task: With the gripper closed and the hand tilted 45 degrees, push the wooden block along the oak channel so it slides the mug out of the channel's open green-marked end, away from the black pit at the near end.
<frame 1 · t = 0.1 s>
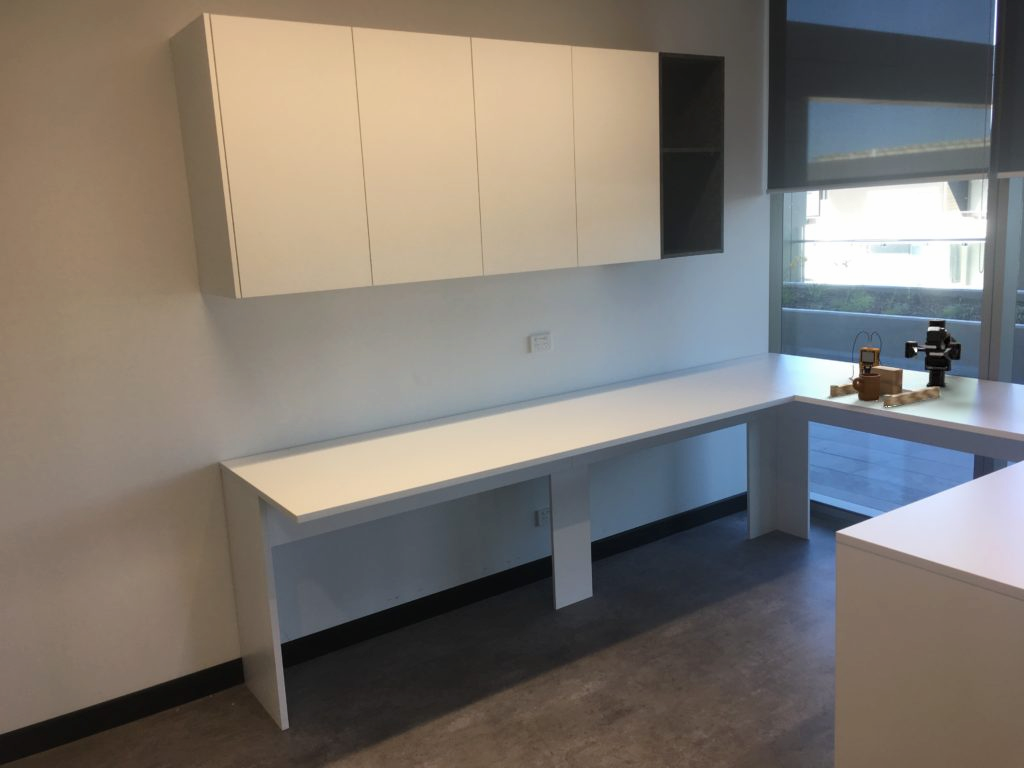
hand: (929, 354, 302), 17 cm above the table, tool horizontal, fingers open, 9 cm apart
wooden block: (886, 381, 312), point 6 cm above the table, slide at 0.0 cm
multimeter: (864, 381, 342), on the table
mug: (864, 400, 308), on the table
channel: (884, 396, 313), on the table
pit: (902, 392, 317), on the table
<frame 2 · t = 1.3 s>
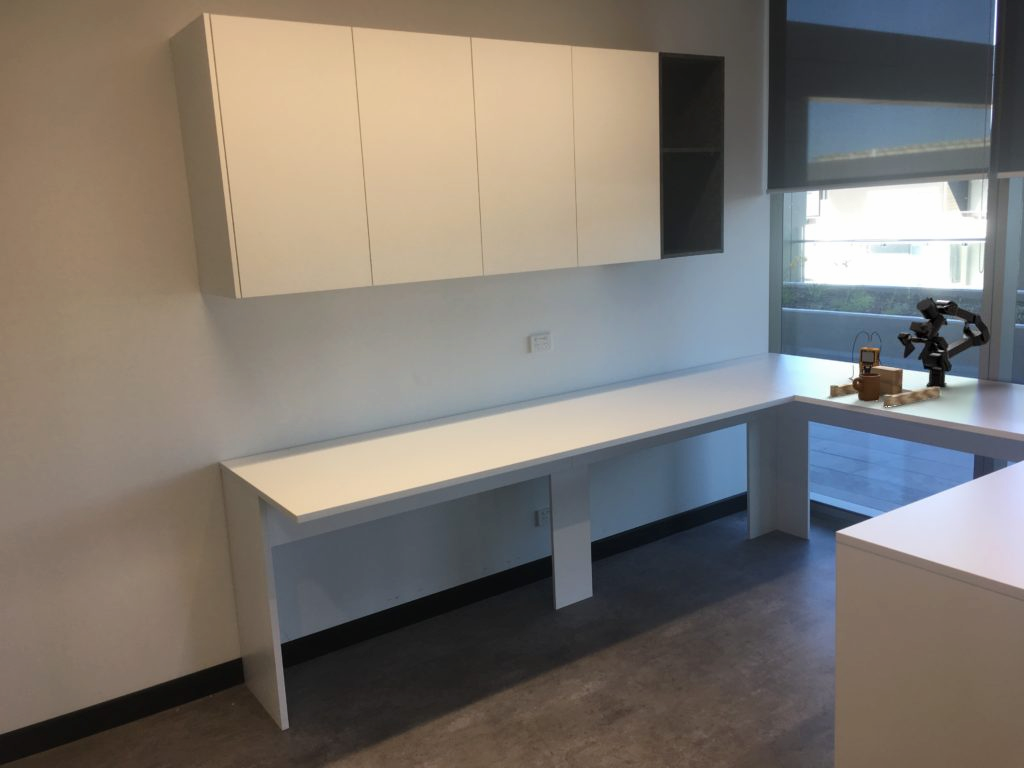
hand: (911, 358, 317), 13 cm above the table, tool tilted 45°, fingers open, 6 cm apart
nothing on the table moved.
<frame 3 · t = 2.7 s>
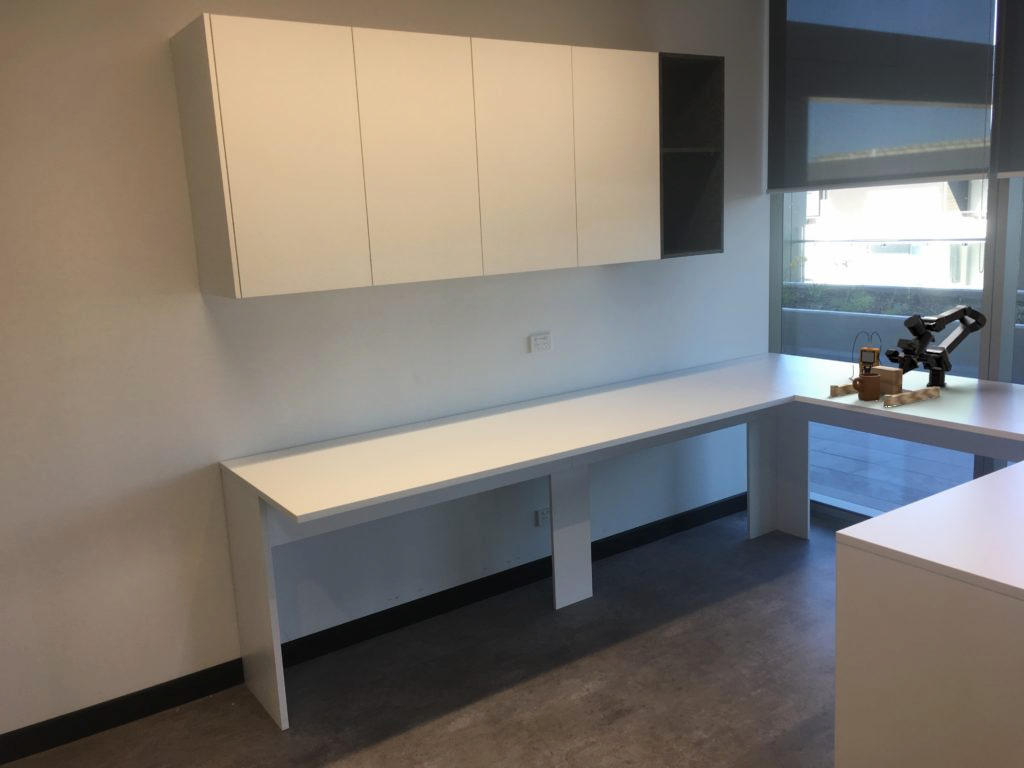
hand: (898, 375, 315), 7 cm above the table, tool tilted 45°, fingers closed
nothing on the table moved.
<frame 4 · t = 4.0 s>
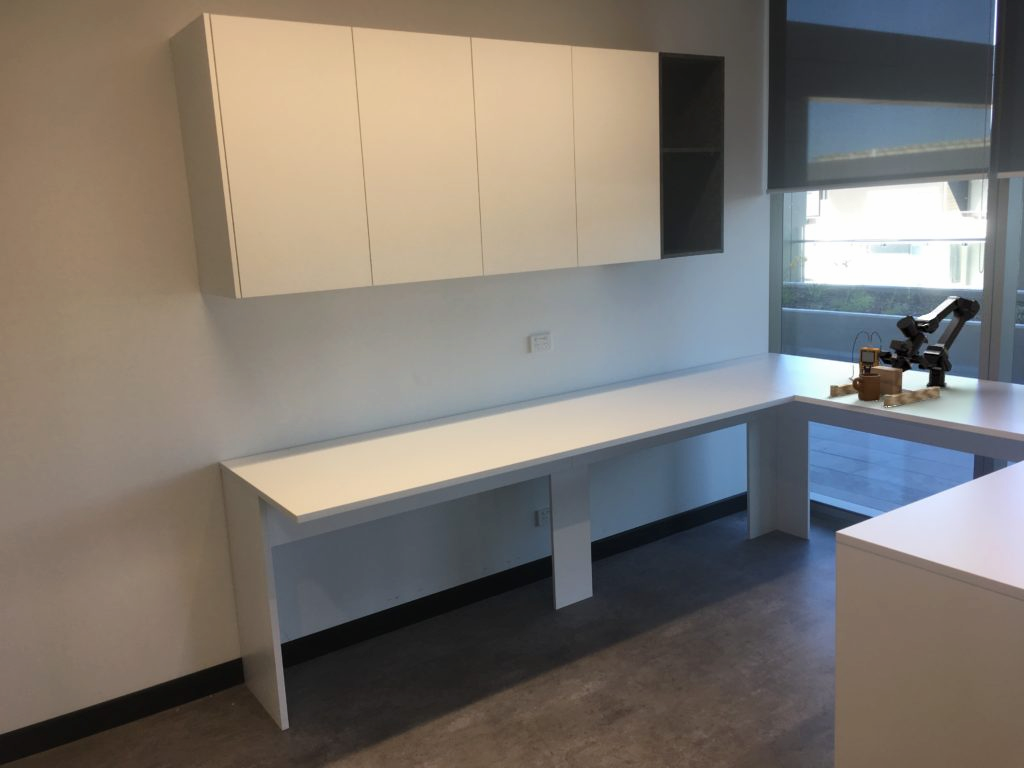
hand: (891, 377, 313), 7 cm above the table, tool tilted 45°, fingers closed, pressing on wooden block
wooden block: (886, 381, 312), point 6 cm above the table, slide at 0.1 cm, touching gripper
everything else where it was.
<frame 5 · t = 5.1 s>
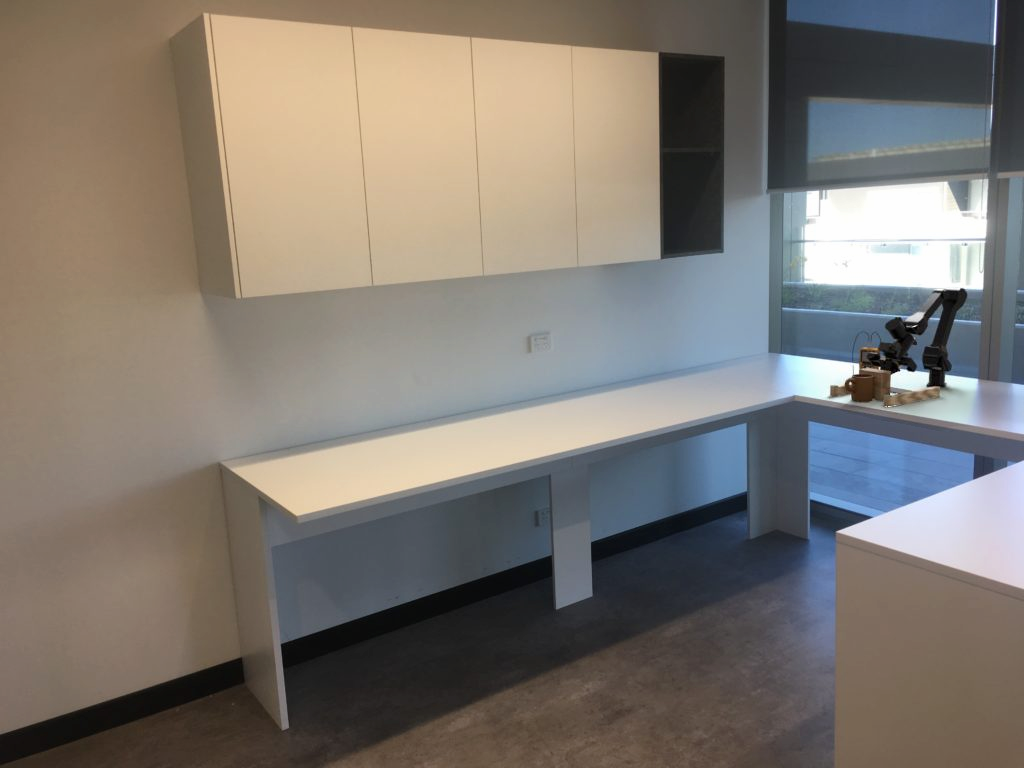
hand: (879, 379, 310), 7 cm above the table, tool tilted 45°, fingers closed, pressing on wooden block
wooden block: (874, 383, 309), point 6 cm above the table, slide at 6.5 cm, touching gripper
mug: (857, 401, 307), on the table
everything else where it was.
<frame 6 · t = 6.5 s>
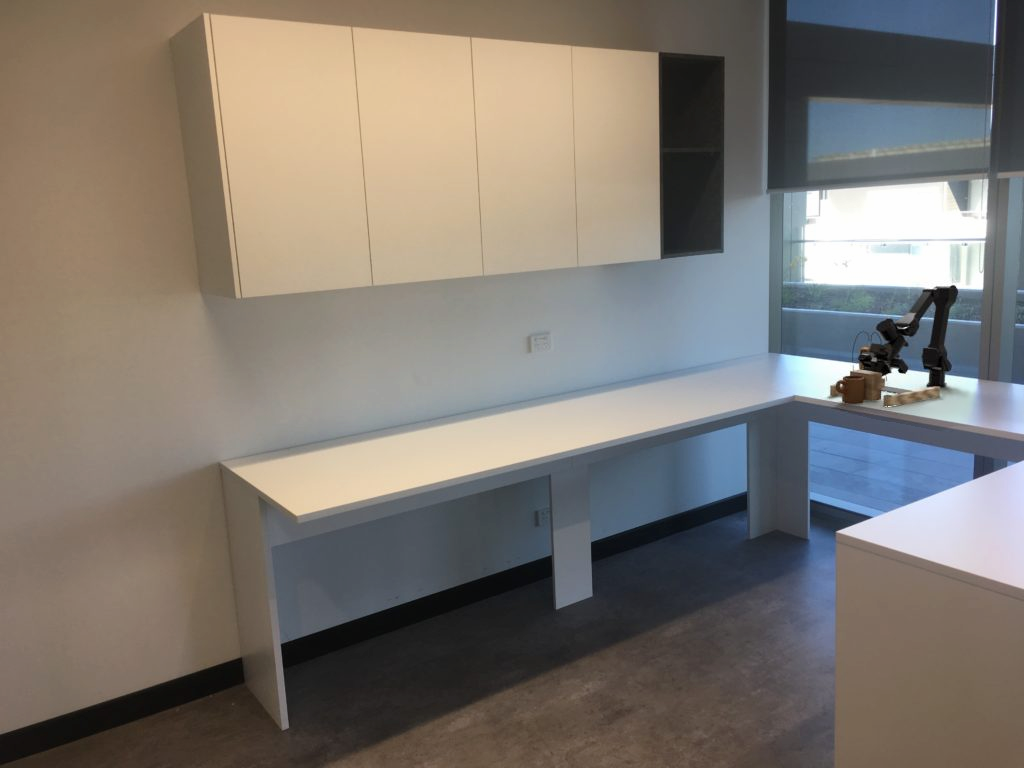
hand: (870, 381, 308), 7 cm above the table, tool tilted 45°, fingers closed, pressing on wooden block
wooden block: (865, 385, 307), point 6 cm above the table, slide at 11.2 cm, touching gripper, mug
mug: (848, 403, 305), on the table, touching wooden block
everything else where it was.
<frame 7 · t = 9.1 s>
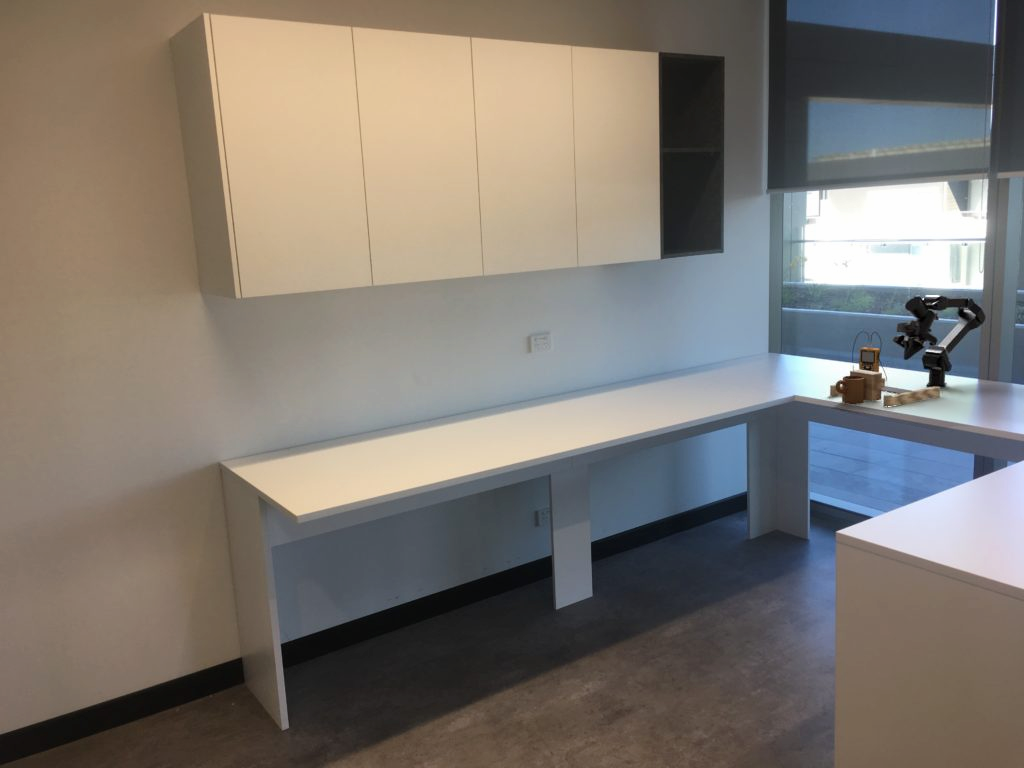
hand: (905, 359, 315), 13 cm above the table, tool tilted 35°, fingers closed
wooden block: (865, 385, 307), point 6 cm above the table, slide at 11.2 cm
mug: (848, 403, 305), on the table
everything else where it was.
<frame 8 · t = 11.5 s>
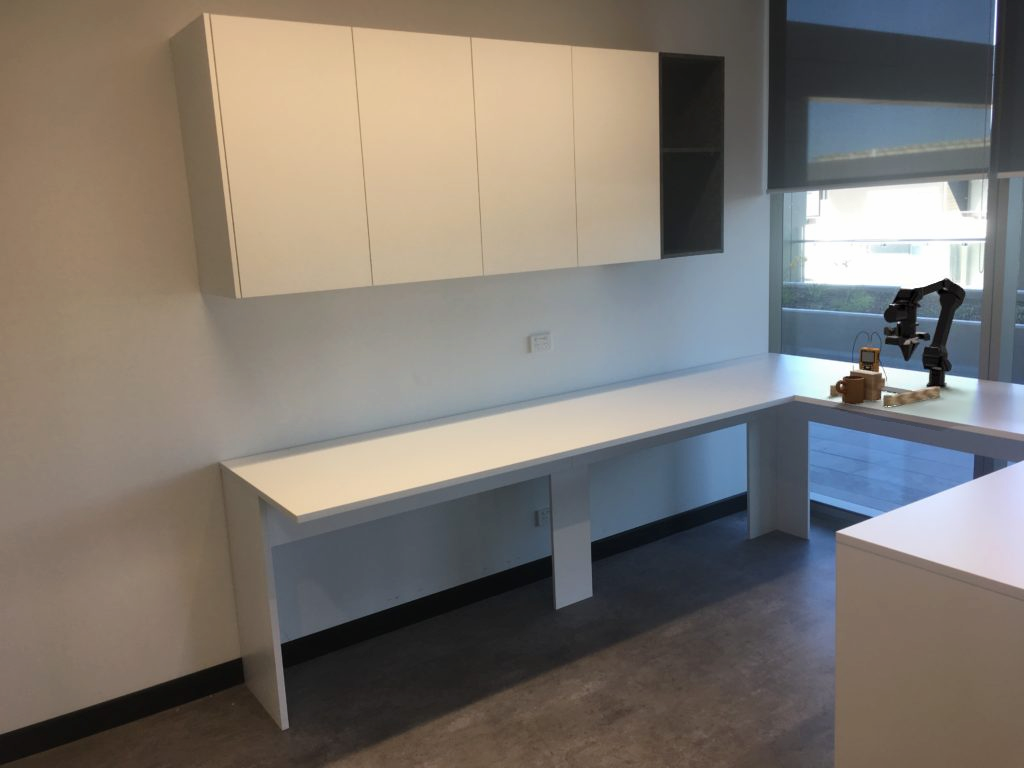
hand: (906, 361, 316), 12 cm above the table, tool pointing down, fingers closed
nothing on the table moved.
at the end: mug inside the target area (2.6 cm from its centre), on the table; mug tilted 0°; wooden block slide at 11.2 cm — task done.
